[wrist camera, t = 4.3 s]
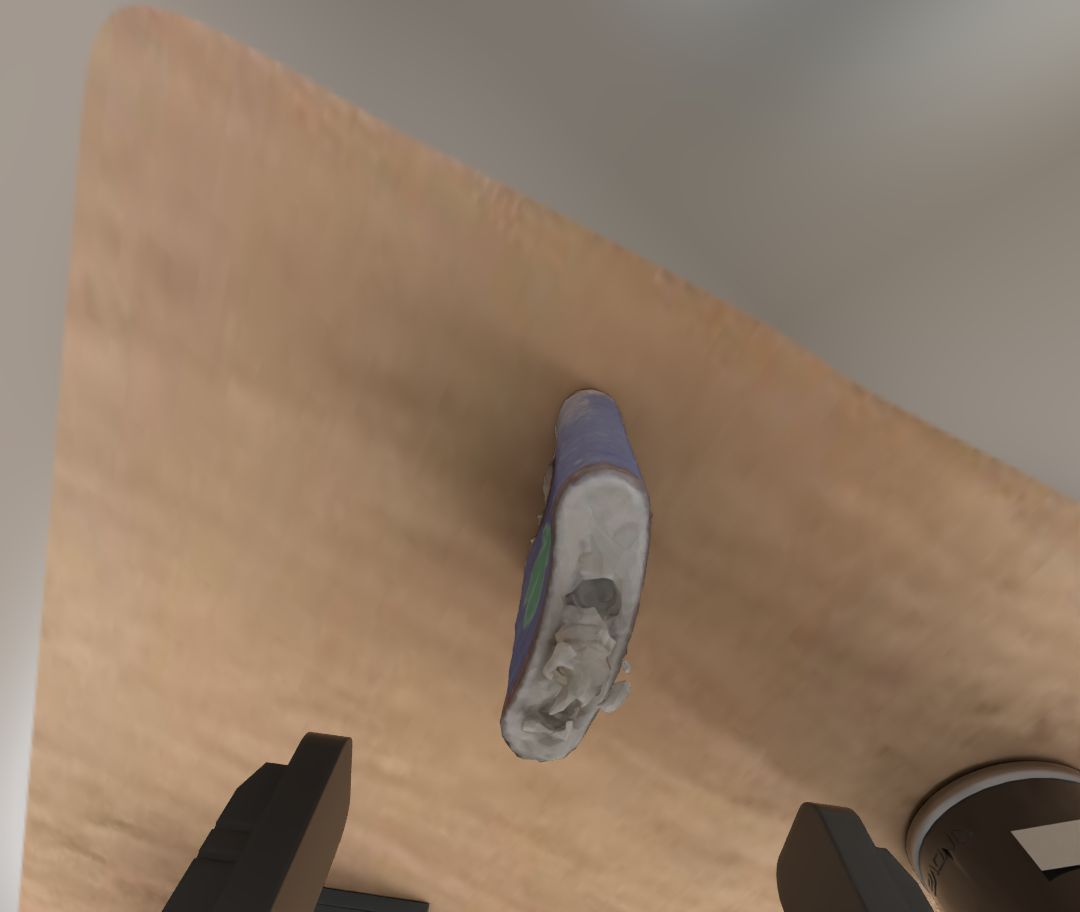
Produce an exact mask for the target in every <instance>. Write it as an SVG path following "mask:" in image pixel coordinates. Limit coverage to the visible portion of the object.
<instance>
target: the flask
mask: <svg viewBox="0 0 1080 912" xmlns="http://www.w3.org/2000/svg"><path fill="white" fill-rule="evenodd" d="M555 428H556V429H555V435H556V448H555V452H554V455H555V456H554V457H553V458H552V462H551V464H550V465H548V469H547V474H546V476H545V477H543V479H544V486H543V492H544V493H543V494H544V495H545V497H544V499H545V504H546V506H545V509H544V511H543V514H540V515H537V517H538V522H539V530H538V534H537V535H536V536H535V538H534V539H533V540H531V543H532V544H531V547H530V549H529V552H528V554H527V560H526V563H525V569H524V579H523V586H522V595H521V600H520V605H519V611H518V615H517V619H516V623H515V641H514V646H513V654H512V659H511V664H510V669H509V681H508V689H507V695H506V698H505V702H504V706H503V711H502V715H501V719H500V725H501V732H502V737H503V738H504V740H505V742H506V743H507V745H508V746H509V747H510V749H511V750H512V751H513V752H514V753H515V754H516V756H517V757H520V758H522V759H530V760H537V761H539V762H544V761H554V760H559V759H562V758H565V757H566V756H567V755H568V754H569V753H570V752H571V751H573V750H574V749H576V747H577V746H578V744H579V743H580V741H581V740H582V738H583V737H584V735H585V733H586V732H587V730H588V728H589V726H590V724H591V722H592V721H593V720H594V718H595V716H596V715H597V713H598V711H599V709H602V710H603V711H604V712H606V713H608V712H613V711H614V710H615V709H616V708H618V707H619V706H620V705H621V704H622V703H623V702H624V701H625V699H626V698H627V697H628V696H629V692H630V689H631V687H630V684H629V681H626V680H625V681H621V682H617V683H614V681H615V679H616V677H617V675H618V673H619V671H620V667H621V664H622V667H623V670H624V671H625V672H626V673H628V674H629V673H630V671H631V668H630V662H629V661H627V660H626V659H625V660H624V661H623V662H622V660H623V658H624V657H625V655H626V654H627V646H628V643H629V641H630V638H631V634H632V632H633V628H634V624H635V620H636V618H637V615H638V612H639V604H640V596H641V592H642V588H643V584H644V579H645V573H646V566H647V560H648V554H649V545H650V537H651V524H652V517H653V515H652V512H651V509H650V497H649V494H648V491H647V489H646V486H645V483H644V482H643V479H642V476H641V473H640V470H639V468H638V465H637V463H636V460H635V457H634V454H633V451H632V449H631V446H630V443H629V441H628V438H627V434H626V430H625V427H624V424H623V421H622V417H621V414H620V411H619V409H618V407H617V405H616V403H615V402H614V400H613V399H612V398H611V397H610V396H609V395H607V394H605V393H603V392H600V391H597V390H593V389H588V390H580V391H579V390H578V391H577V392H575V393H574V394H572V395H571V396H570V397H568V398H567V399H566V400H565V401H564V404H563V406H562V408H561V410H560V412H559V416H558V422H557V424H556V425H555ZM612 686H613V687H612ZM611 688H612V689H611ZM610 689H611V691H610ZM609 691H610V693H609ZM608 693H609V695H608V697H607V699H605V698H606V696H607V694H608Z"/></svg>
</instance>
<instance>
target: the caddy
mask: <svg viewBox="0 0 1080 912" xmlns="http://www.w3.org/2000/svg"><path fill="white" fill-rule="evenodd" d="M428 909H429V904H426V903H420V902H413V901H406V900H400V899H393V898H386V897H380V896H373V895H366V894H360V893H353V892H346V891H340V890H333V889H326V888H322V891H321V893H320V896H319V898H318V901H317V904H316V906H315V909H314V912H428Z"/></svg>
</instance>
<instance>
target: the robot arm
mask: <svg viewBox="0 0 1080 912" xmlns="http://www.w3.org/2000/svg"><path fill="white" fill-rule="evenodd" d="M351 765H352V739H351V738H350V737H343V736H336V735H329V734H321V733H314V732H308V733H307V734H306V735H305V736H304V737H303V739H302V740H301V742H300V744H299V746H298V747H297V749H296V751H295V753H294V755H293V757H292V759H291V760H290V762H289V764H288V765H282V764H275V763H267V762H266V763H265V764H264V765H263V766H262V767H261V768H260V769H258V770H257V771H256V772H255V773H254V774H253V775H252V776H251V777H249V778H248V779H247V780H246V781H245V782H244V783H243V784H242V785H240V786H239V787H238V788H237V789H236V791H235V793H234V794H233V796H232V798H231V799H230V801H229V802H228V804H227V806H226V807H225V809H224V811H223V812H222V814H221V815H220V817H219V819H218V820H217V822H216V826H215V828H214V829H212V830H211V832H210V833H209V835H208V837H207V838H206V840H205V842H204V843H203V845H202V847H201V848H200V850H199V853H198V856H197V858H194V860H193V861H192V863H191V865H190V866H189V868H188V869H187V871H186V873H185V874H184V876H183V878H182V879H181V881H180V883H179V884H178V886H177V887H176V889H175V891H174V892H173V894H172V896H171V897H170V899H169V901H168V902H167V904H166V905H165V907H164V909H163V910H162V912H314V909H315V906H316V904H317V901H318V898H319V896H320V893H321V891H322V888H323V885H324V883H325V880H326V877H327V875H328V872H329V869H330V867H331V864H332V861H333V859H334V856H335V853H336V851H337V848H338V845H339V843H340V840H341V837H342V834H343V831H344V827H345V823H346V819H347V815H348V810H349V804H350V789H351ZM906 848H907V854H908V858H909V861H910V863H911V865H912V867H913V869H914V870H915V872H916V874H917V875H918V877H919V879H920V881H921V882H922V884H923V885H924V887H925V888H926V889H927V891H928V892H929V893H930V894H931V895H932V897H933V899H934V900H935V902H936V904H937V905H938V907H939V909H940V911H941V912H1080V772H1079V771H1077V770H1075V769H1072V768H1070V767H1067V766H1063V765H1060V764H1055V763H1049V762H1039V761H1020V762H1010V763H1004V764H998V765H994V766H990V767H986V768H983V769H980V770H977V771H974V772H972V773H969V774H967V775H965V776H963V777H960V778H958V779H956V780H955V781H953V782H951V783H949V784H948V785H946V786H945V787H943V788H942V789H940V790H939V791H938V792H937V793H935V794H934V795H933V796H932V797H931V798H930V799H929V800H927V802H926V803H925V804H924V805H923V806H922V807H921V808H920V810H919V811H918V812H917V814H916V815H915V817H914V819H913V821H912V823H911V825H910V828H909V831H908V834H907V842H906ZM777 887H778V893H779V897H780V901H781V904H782V907H783V910H784V912H934V911H933V909H932V907H931V906H930V904H929V902H928V900H927V899H926V897H925V895H924V894H923V892H922V890H921V888H920V887H919V885H918V883H917V882H916V881H915V880H914V879H913V878H912V876H911V875H910V874H909V873H908V872H907V871H906V870H905V869H904V868H903V866H902V865H901V864H900V863H899V862H898V861H897V860H896V859H895V858H894V856H893V855H892V854H891V853H890V852H889V851H888V850H887V849H885V848H878V847H875V845H874V843H873V841H872V839H871V837H870V836H869V834H868V832H867V830H866V828H865V826H864V825H863V823H862V821H861V819H860V818H859V816H858V815H857V814H856V813H855V812H854V811H853V810H852V809H850V808H847V807H840V806H833V805H826V804H818V803H811V802H805V803H803V804H802V805H801V806H800V808H799V810H798V813H797V815H796V818H795V820H794V822H793V825H792V827H791V830H790V832H789V834H788V837H787V839H786V841H785V844H784V846H783V849H782V851H781V853H780V856H779V859H778V863H777Z"/></svg>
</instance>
